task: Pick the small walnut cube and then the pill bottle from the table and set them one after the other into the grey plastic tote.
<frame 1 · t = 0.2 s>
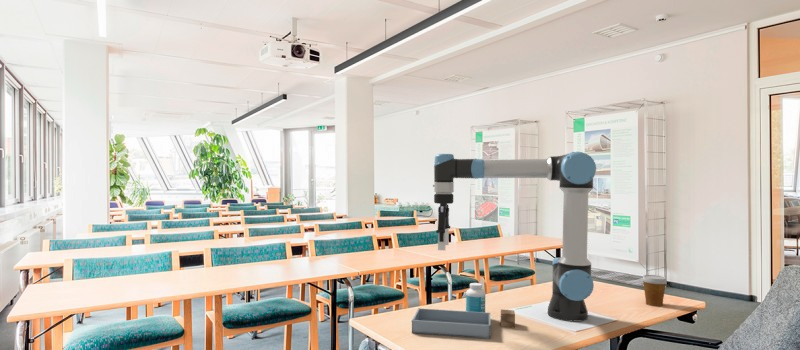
hand: (443, 247, 182), 27 cm above the table, fingers open, 13 cm apart
disposable coffee cup: (654, 304, 203), on the table
pill bottle: (475, 319, 181), on the table
walnut cube: (507, 325, 174), on the table
tote: (452, 328, 169), on the table
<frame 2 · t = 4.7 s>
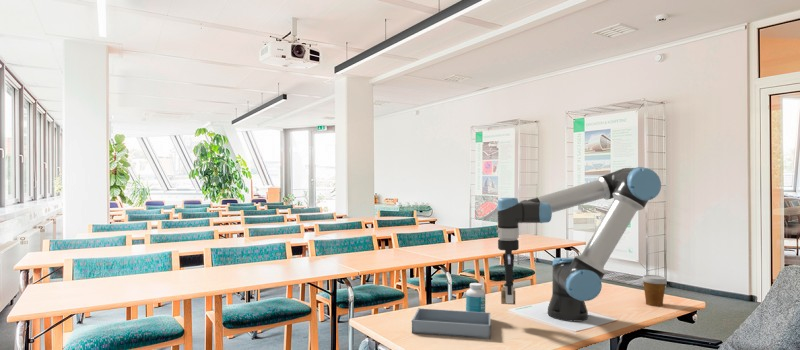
hand: (509, 301, 174), 9 cm above the table, fingers closed on walnut cube, 5 cm apart
walnut cube: (508, 302, 174), point 8 cm above the table, touching gripper
everything else where it was.
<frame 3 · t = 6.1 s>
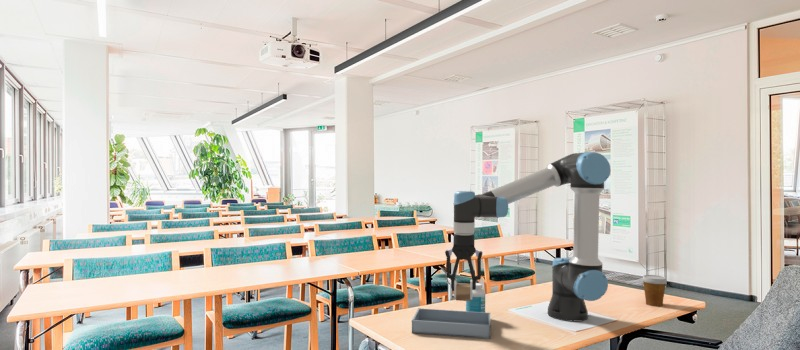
hand: (463, 297, 168), 11 cm above the table, fingers closed on walnut cube, 5 cm apart
walnut cube: (463, 298, 168), point 11 cm above the table, touching gripper
everything else where it was.
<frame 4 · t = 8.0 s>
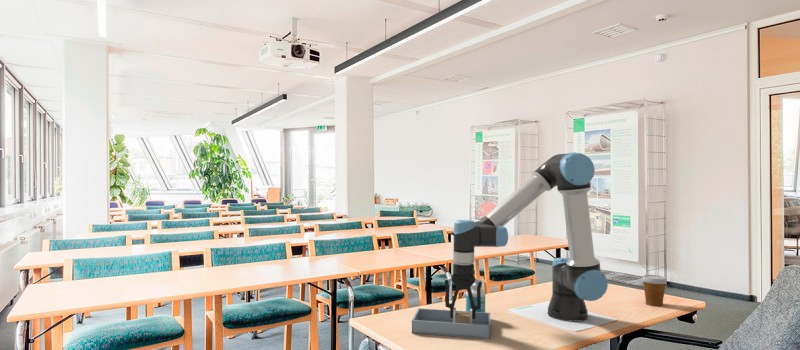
hand: (462, 327, 168), 1 cm above the table, fingers closed on walnut cube, 5 cm apart
walnut cube: (462, 327, 168), point 1 cm above the table, touching gripper, tote
everything else where it was.
when the fingers open (1 cm above the table, at t = 8.0 s): walnut cube stays where it is, resting on tote.
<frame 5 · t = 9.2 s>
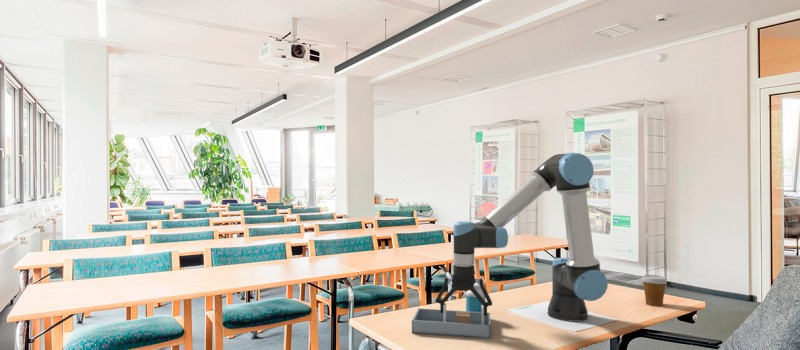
hand: (463, 323, 168), 2 cm above the table, fingers open, 13 cm apart
walnut cube: (462, 327, 168), point 1 cm above the table, touching tote
everything else where it was.
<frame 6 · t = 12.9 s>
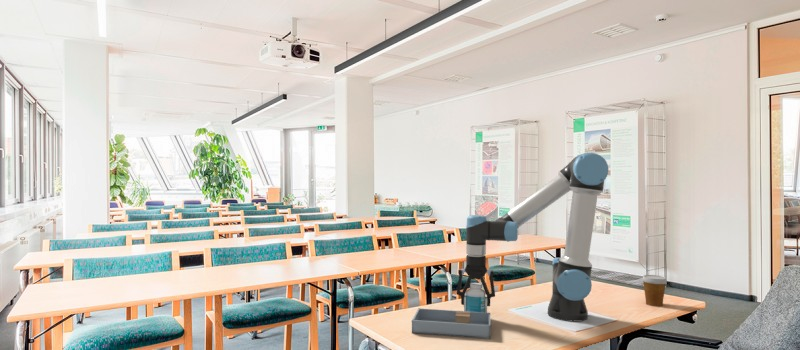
hand: (475, 313, 181), 2 cm above the table, fingers closed on pill bottle, 7 cm apart
pill bottle: (475, 319, 181), on the table, touching gripper
everything else where it was.
when the fingers open (5 cm above the table, at t = 18.7 s): pill bottle drops 2 cm, resting on tote.
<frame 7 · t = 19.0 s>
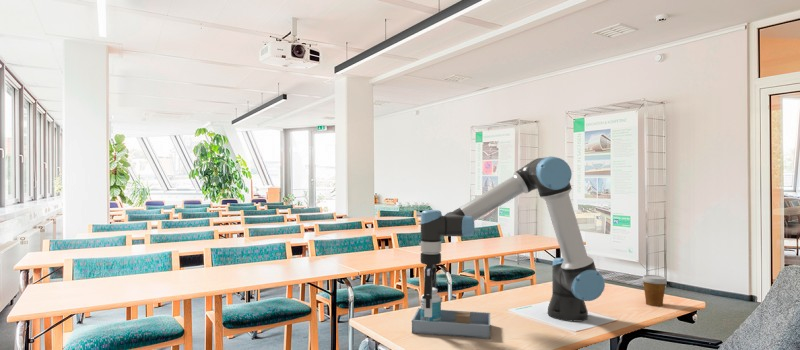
hand: (430, 311, 170), 6 cm above the table, fingers open, 11 cm apart
pill bottle: (430, 326, 170), resting on tote
everything else where it was.
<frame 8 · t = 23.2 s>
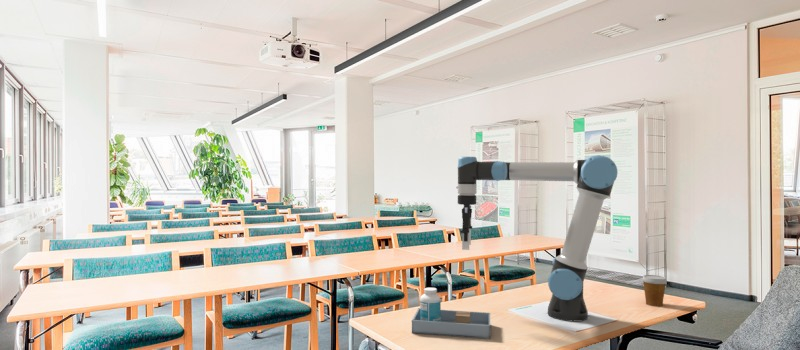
hand: (466, 247, 188), 27 cm above the table, fingers open, 13 cm apart
nothing on the table moved.
at the end: pill bottle inside the target area on the tote (8.0 cm from its centre), point 0.4 cm above the tote's base; walnut cube inside the target area on the tote (3.9 cm from its centre), point 0.6 cm above the tote's base; pill bottle tilted 0° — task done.
